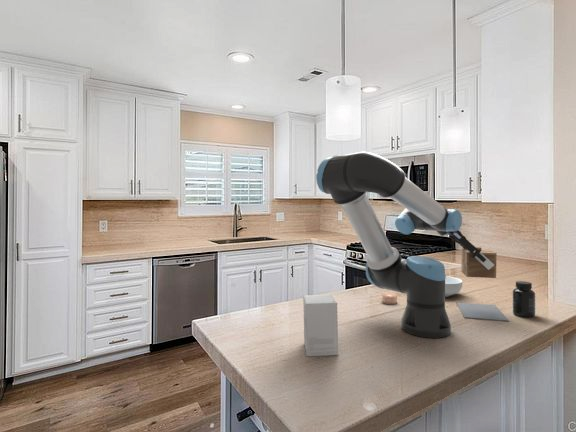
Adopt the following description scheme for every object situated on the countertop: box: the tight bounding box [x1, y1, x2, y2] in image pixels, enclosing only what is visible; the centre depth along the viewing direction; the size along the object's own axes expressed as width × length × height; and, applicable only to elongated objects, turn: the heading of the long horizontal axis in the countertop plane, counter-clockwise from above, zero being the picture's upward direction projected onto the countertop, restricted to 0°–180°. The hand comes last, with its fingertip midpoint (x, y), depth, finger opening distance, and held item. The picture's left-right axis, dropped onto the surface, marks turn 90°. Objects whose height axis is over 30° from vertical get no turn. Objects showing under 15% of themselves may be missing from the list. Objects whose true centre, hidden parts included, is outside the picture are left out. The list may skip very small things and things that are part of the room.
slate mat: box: [455, 302, 510, 322], centre depth 128 cm, size 18×14×1 cm
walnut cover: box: [460, 246, 497, 279], centre depth 128 cm, size 10×10×10 cm
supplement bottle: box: [512, 280, 536, 319], centre depth 124 cm, size 7×7×12 cm
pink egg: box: [381, 292, 398, 305], centre depth 142 cm, size 6×6×3 cm
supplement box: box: [302, 294, 339, 357], centre depth 98 cm, size 9×9×15 cm
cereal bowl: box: [445, 275, 463, 298], centre depth 153 cm, size 17×17×7 cm
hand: (487, 264), depth 127 cm, fingers closed on walnut cover, 10 cm apart
